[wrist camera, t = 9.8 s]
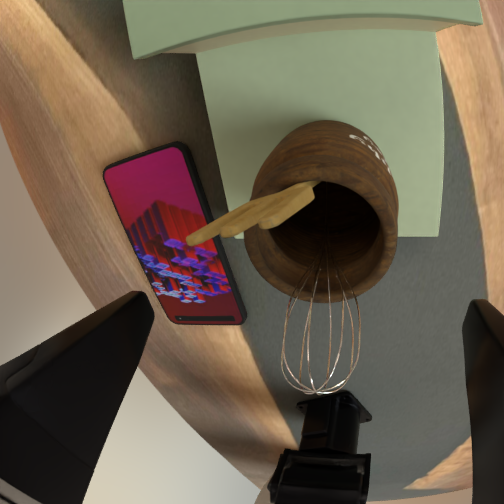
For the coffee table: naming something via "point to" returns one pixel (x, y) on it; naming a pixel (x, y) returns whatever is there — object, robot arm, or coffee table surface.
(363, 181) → the utensil holder
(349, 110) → the beige rectangular box
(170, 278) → the smartphone
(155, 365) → the coffee table surface
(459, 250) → the coffee table surface
